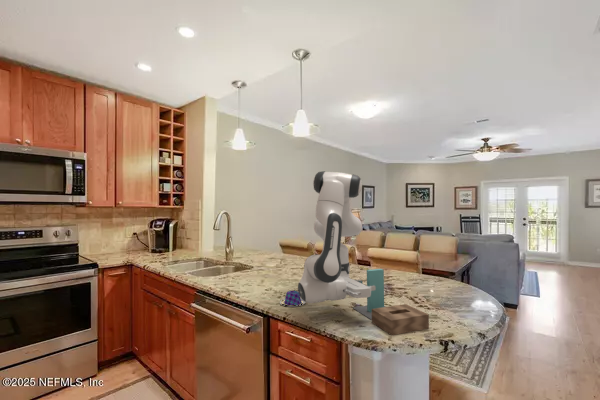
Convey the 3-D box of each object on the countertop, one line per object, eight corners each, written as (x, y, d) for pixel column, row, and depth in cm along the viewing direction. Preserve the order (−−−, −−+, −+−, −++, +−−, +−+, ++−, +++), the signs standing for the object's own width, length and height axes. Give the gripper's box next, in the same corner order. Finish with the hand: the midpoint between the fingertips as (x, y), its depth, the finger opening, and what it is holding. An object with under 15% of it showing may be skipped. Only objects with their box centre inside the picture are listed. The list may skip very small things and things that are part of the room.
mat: (371, 320, 112) (371, 319, 112) (352, 308, 125) (352, 307, 125) (400, 315, 117) (400, 314, 117) (380, 304, 130) (380, 303, 130)
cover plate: (369, 312, 119) (369, 271, 119) (367, 311, 121) (366, 270, 121) (384, 310, 121) (383, 269, 122) (381, 308, 123) (380, 268, 124)
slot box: (391, 335, 99) (391, 320, 99) (371, 322, 110) (371, 309, 110) (428, 328, 104) (428, 314, 104) (406, 316, 115) (405, 304, 115)
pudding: (311, 304, 132) (311, 292, 132) (289, 310, 125) (289, 297, 125) (296, 297, 142) (295, 287, 142) (274, 302, 135) (274, 291, 135)
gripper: (351, 286, 106) (383, 282, 110) (327, 274, 125) (355, 272, 130) (351, 303, 105) (383, 299, 110) (327, 289, 125) (355, 286, 129)
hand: (367, 284), depth 120 cm, fingers open, 8 cm apart
